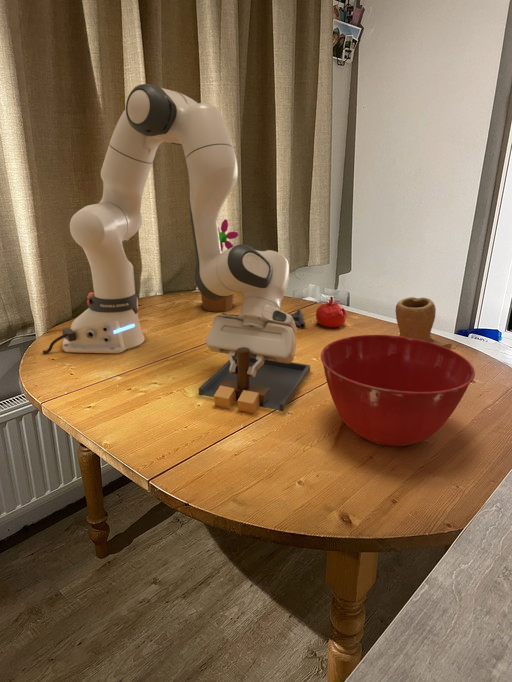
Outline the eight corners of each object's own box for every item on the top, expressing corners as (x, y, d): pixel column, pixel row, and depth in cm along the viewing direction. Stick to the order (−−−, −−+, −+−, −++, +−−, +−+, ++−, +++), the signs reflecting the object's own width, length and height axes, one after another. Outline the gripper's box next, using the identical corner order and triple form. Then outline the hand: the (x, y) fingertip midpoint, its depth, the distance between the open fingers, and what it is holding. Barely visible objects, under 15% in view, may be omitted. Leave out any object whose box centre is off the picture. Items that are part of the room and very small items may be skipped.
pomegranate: (321, 331, 154) (322, 302, 151) (310, 321, 163) (311, 293, 160) (350, 329, 156) (353, 300, 153) (338, 319, 165) (340, 291, 162)
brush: (217, 396, 111) (215, 349, 107) (224, 389, 115) (223, 342, 110) (263, 405, 108) (264, 357, 103) (269, 397, 111) (270, 350, 107)
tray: (236, 361, 132) (236, 353, 131) (309, 373, 126) (310, 365, 125) (198, 397, 113) (198, 388, 112) (282, 414, 106) (283, 404, 106)
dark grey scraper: (257, 313, 169) (257, 305, 168) (301, 314, 169) (301, 306, 168) (257, 328, 156) (257, 320, 155) (305, 329, 156) (305, 320, 155)
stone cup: (382, 349, 141) (388, 298, 135) (401, 338, 149) (407, 290, 144) (434, 364, 132) (443, 310, 126) (451, 351, 140) (460, 300, 134)
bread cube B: (222, 397, 111) (220, 385, 109) (236, 400, 110) (234, 388, 108) (215, 407, 109) (213, 395, 107) (230, 410, 107) (228, 398, 105)
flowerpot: (244, 304, 179) (245, 219, 168) (226, 315, 167) (225, 224, 156) (209, 299, 184) (207, 216, 173) (189, 310, 172) (186, 221, 161)
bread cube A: (245, 401, 109) (243, 389, 107) (259, 404, 108) (258, 392, 106) (239, 412, 107) (237, 400, 105) (254, 415, 106) (252, 403, 104)
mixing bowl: (335, 386, 119) (340, 325, 113) (463, 410, 109) (475, 344, 103) (298, 448, 95) (302, 374, 89) (459, 486, 84) (474, 405, 79)
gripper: (212, 306, 114) (193, 361, 109) (298, 317, 107) (283, 376, 102) (220, 318, 119) (203, 371, 114) (303, 330, 113) (288, 387, 108)
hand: (241, 374), depth 108 cm, fingers closed on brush, 3 cm apart
